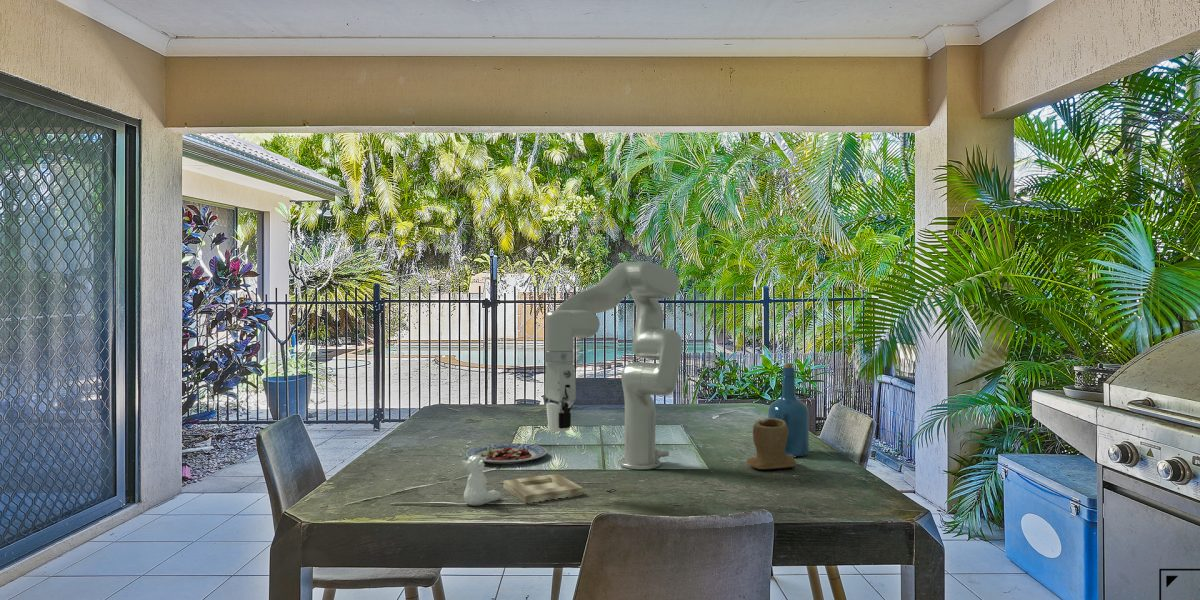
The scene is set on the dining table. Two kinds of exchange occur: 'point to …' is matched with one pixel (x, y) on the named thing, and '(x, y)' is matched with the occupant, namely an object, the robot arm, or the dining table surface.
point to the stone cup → (771, 445)
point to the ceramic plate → (507, 453)
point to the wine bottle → (792, 414)
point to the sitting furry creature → (477, 483)
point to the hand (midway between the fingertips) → (558, 425)
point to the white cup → (554, 416)
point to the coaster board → (542, 488)
